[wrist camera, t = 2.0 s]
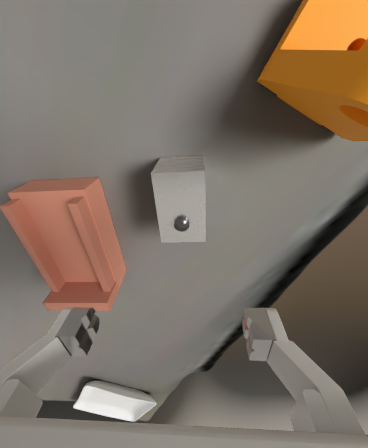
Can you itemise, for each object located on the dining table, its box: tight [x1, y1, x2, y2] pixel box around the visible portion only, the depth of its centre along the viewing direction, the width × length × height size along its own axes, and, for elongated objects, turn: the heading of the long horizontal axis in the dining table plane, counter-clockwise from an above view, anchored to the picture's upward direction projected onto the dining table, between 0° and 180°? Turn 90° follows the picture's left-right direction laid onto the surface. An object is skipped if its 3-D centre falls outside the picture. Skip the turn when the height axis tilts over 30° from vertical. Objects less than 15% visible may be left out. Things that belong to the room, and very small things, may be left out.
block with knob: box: [151, 155, 206, 243], centre depth 23 cm, size 8×5×6 cm, turn 4°
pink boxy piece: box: [0, 177, 127, 311], centre depth 26 cm, size 16×9×8 cm, turn 4°
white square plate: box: [73, 381, 156, 421], centre depth 62 cm, size 21×21×3 cm
